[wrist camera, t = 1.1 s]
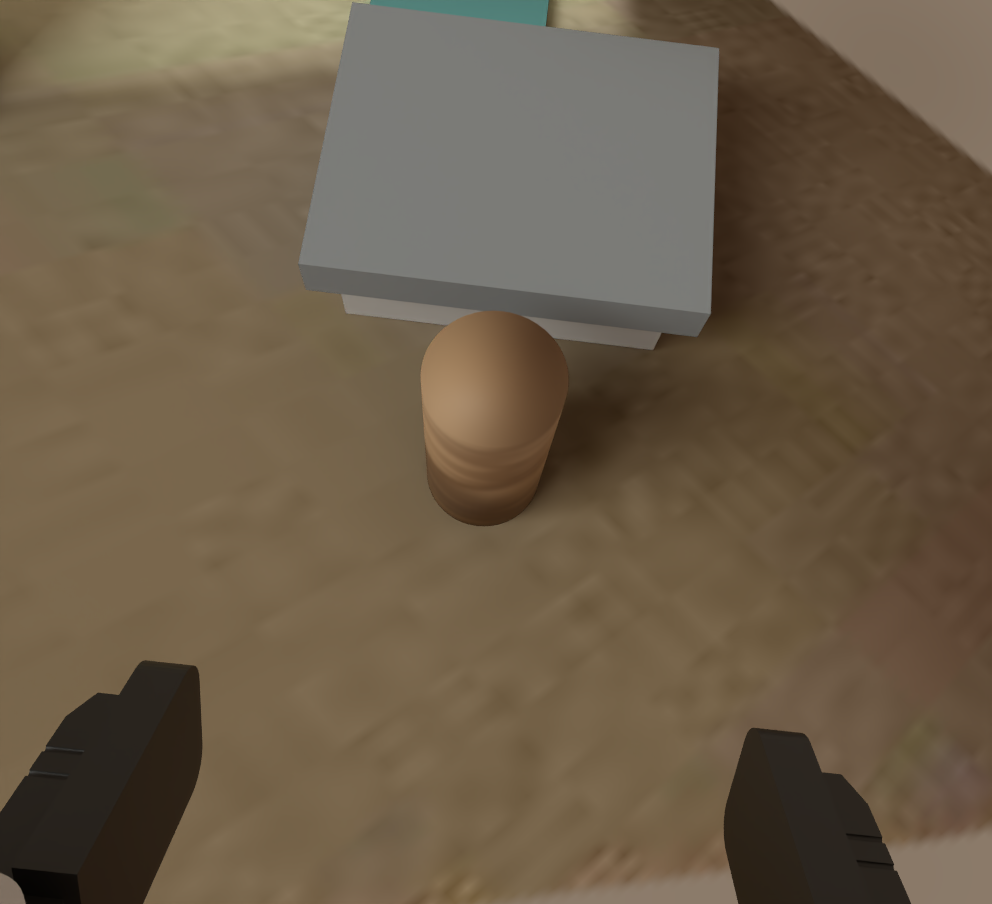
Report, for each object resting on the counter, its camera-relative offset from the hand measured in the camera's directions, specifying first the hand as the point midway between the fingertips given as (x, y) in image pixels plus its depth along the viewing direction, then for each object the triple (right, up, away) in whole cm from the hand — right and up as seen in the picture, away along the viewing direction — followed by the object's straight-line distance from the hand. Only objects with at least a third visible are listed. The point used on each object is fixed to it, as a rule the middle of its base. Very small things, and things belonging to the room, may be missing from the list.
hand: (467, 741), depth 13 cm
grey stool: (+1, +15, +29) cm, 33 cm away
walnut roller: (0, +3, +25) cm, 26 cm away
